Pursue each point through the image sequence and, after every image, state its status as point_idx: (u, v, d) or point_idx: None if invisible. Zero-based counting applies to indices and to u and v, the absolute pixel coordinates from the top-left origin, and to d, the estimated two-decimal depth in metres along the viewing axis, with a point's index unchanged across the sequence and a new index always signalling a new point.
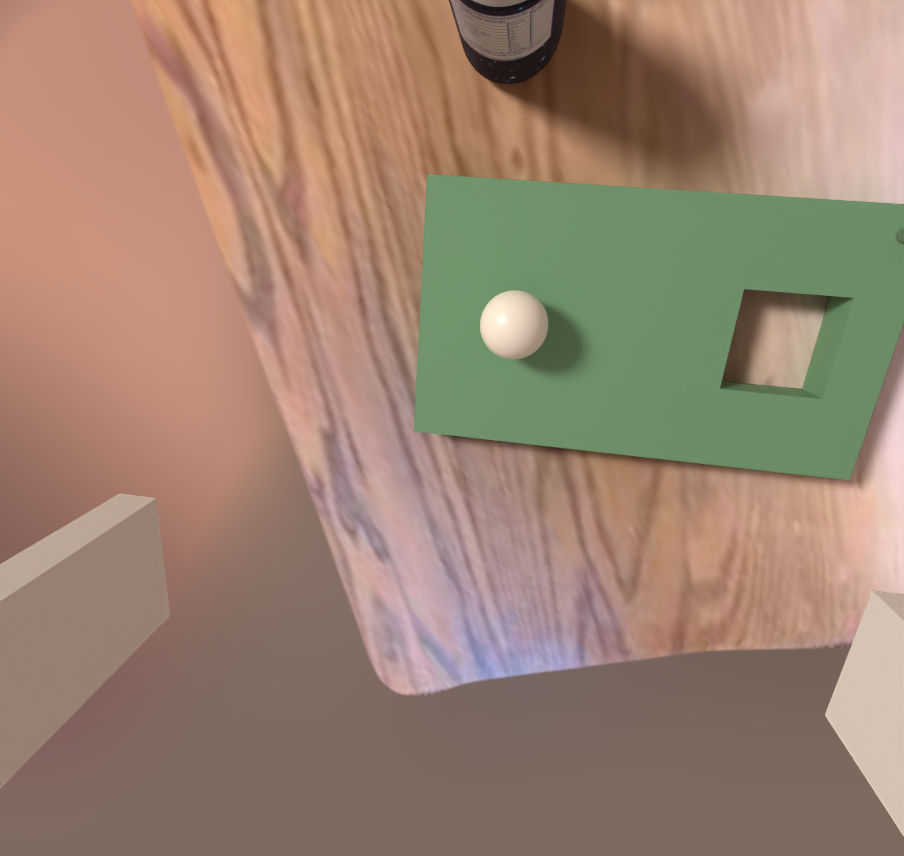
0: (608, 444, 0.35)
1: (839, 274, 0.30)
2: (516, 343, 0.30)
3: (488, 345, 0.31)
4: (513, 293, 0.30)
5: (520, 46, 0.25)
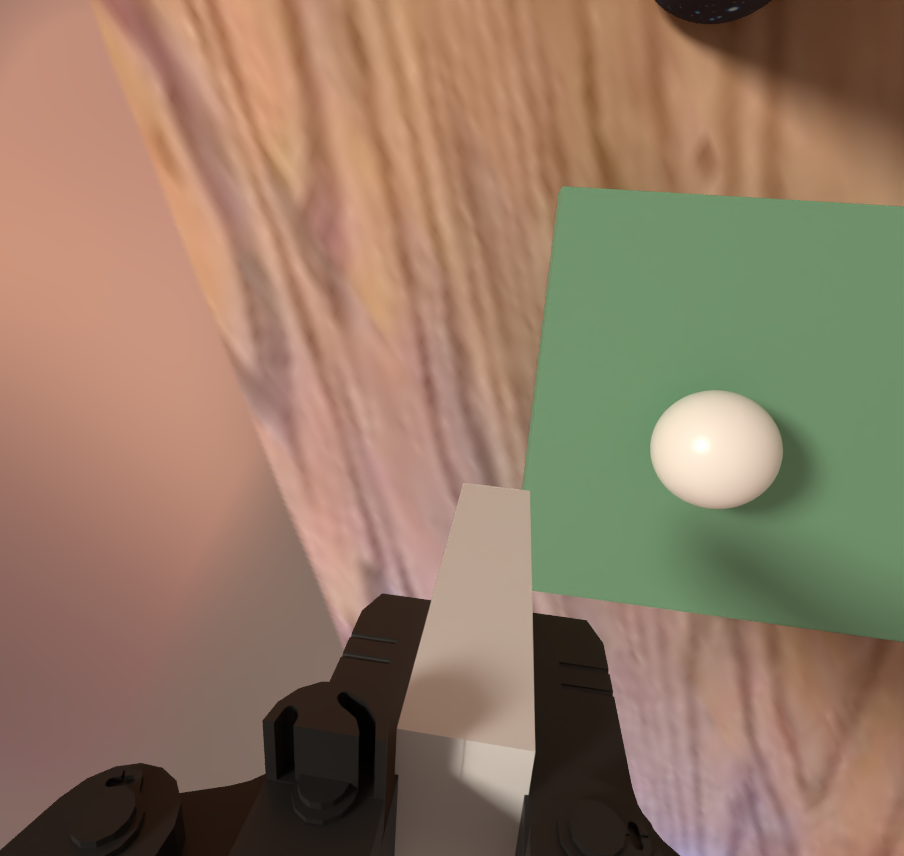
0: (833, 619, 0.22)
1: None
2: (735, 494, 0.16)
3: (672, 487, 0.18)
4: (728, 401, 0.17)
5: None
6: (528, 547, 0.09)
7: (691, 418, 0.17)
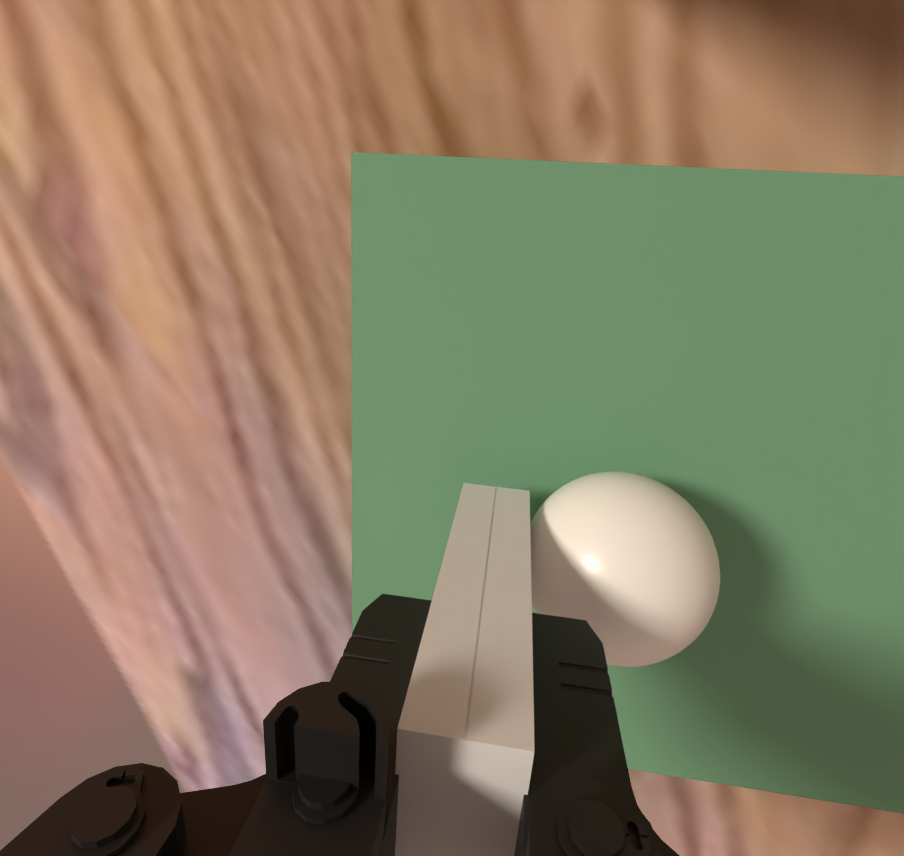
0: (798, 780, 0.15)
1: None
2: (659, 655, 0.10)
3: None
4: (635, 502, 0.10)
5: None
6: (528, 547, 0.09)
7: (581, 535, 0.10)
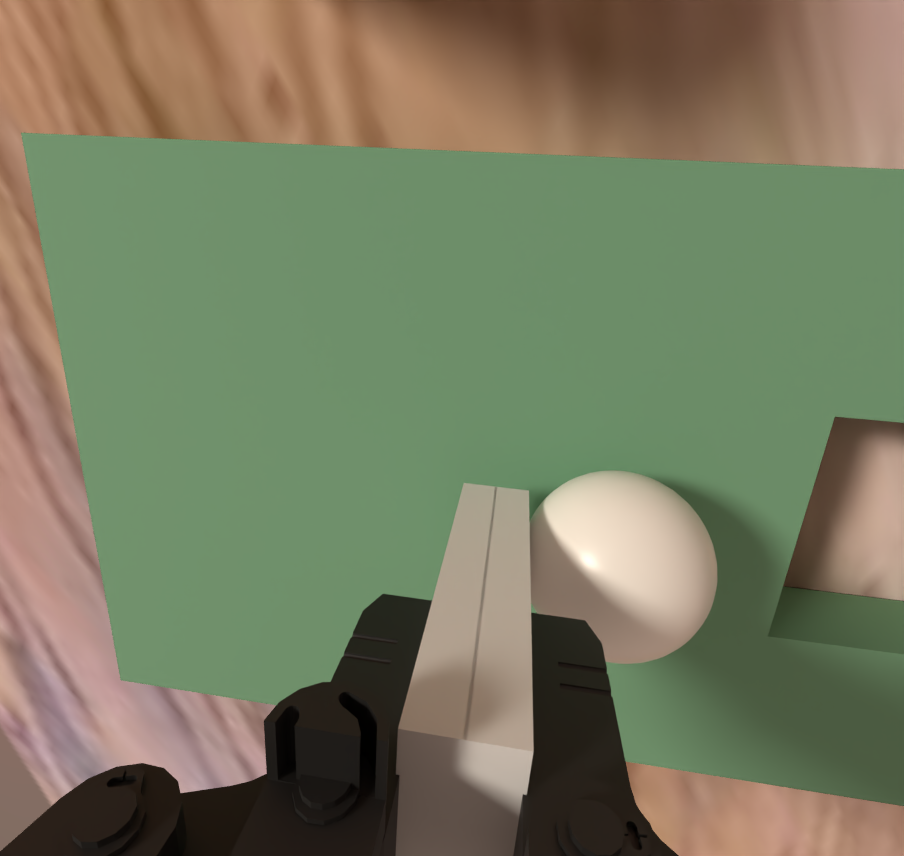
0: None
1: None
2: None
3: None
4: (615, 470, 0.12)
5: None
6: (527, 547, 0.09)
7: None
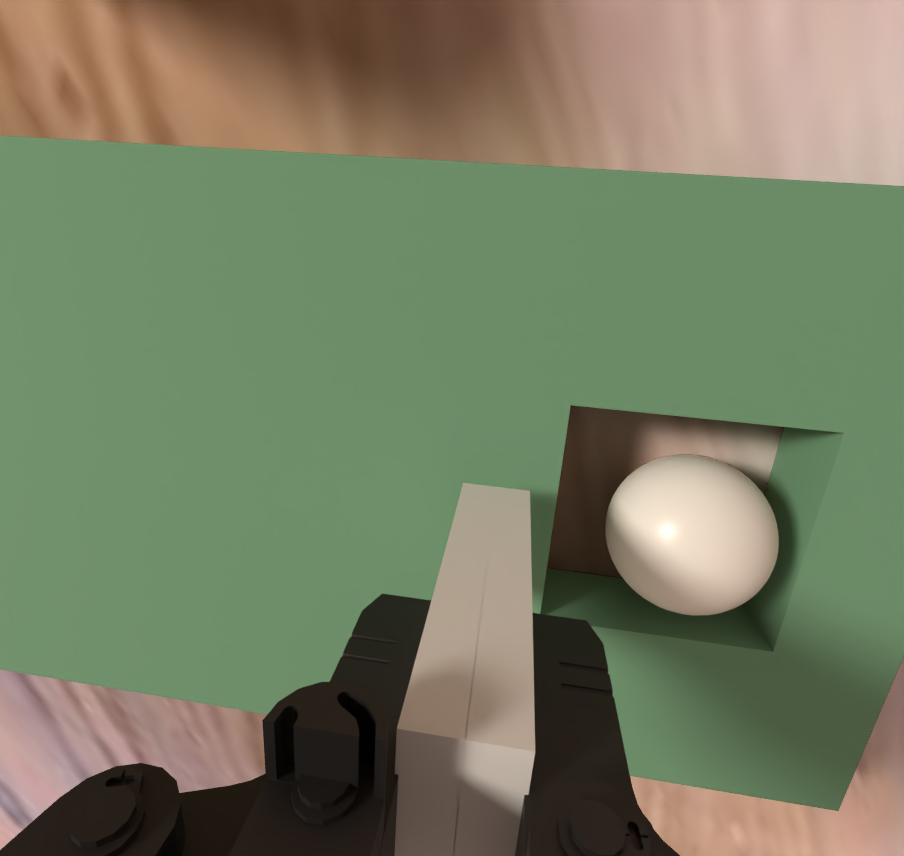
0: None
1: (805, 375, 0.12)
2: None
3: (735, 606, 0.13)
4: (736, 471, 0.13)
5: None
6: (528, 547, 0.09)
7: (762, 516, 0.12)
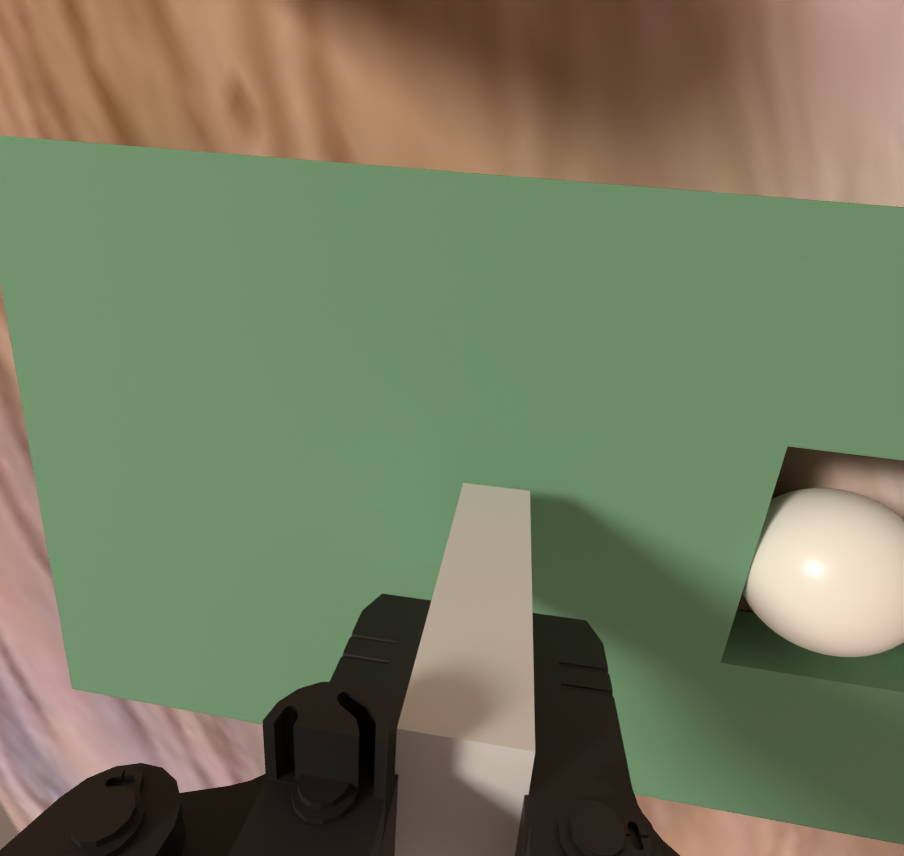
0: None
1: None
2: None
3: (849, 654, 0.12)
4: (886, 515, 0.12)
5: None
6: (528, 547, 0.09)
7: (888, 561, 0.11)
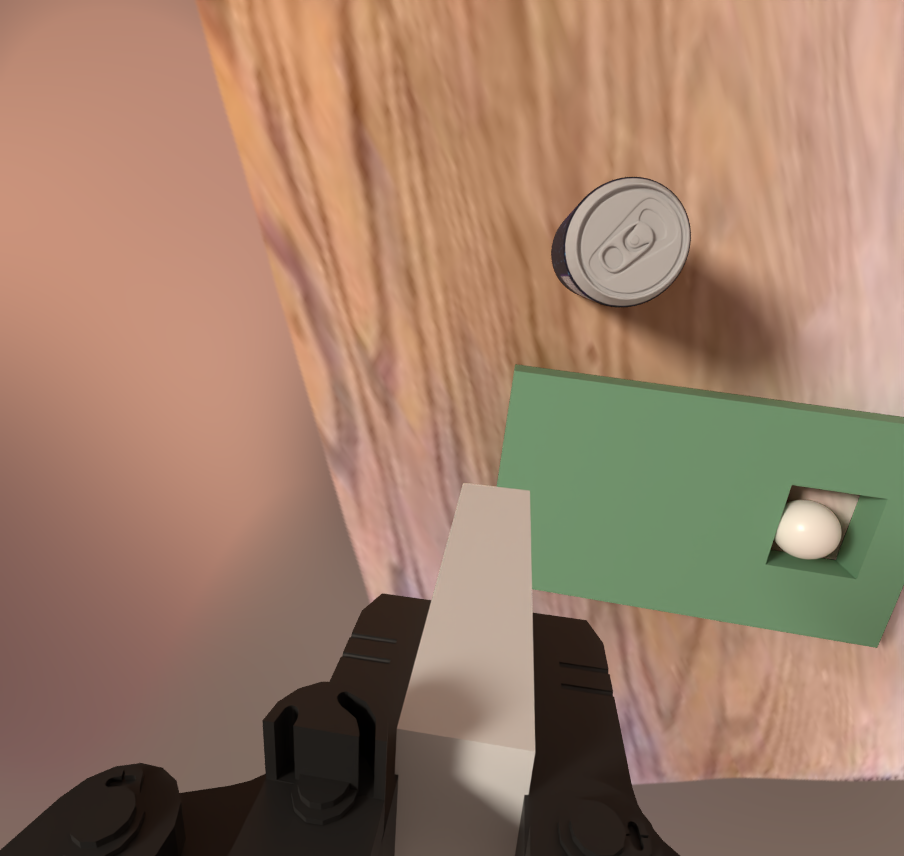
0: (661, 603, 0.38)
1: (876, 479, 0.34)
2: None
3: (813, 557, 0.35)
4: (825, 509, 0.35)
5: None
6: (528, 547, 0.09)
7: (825, 523, 0.34)
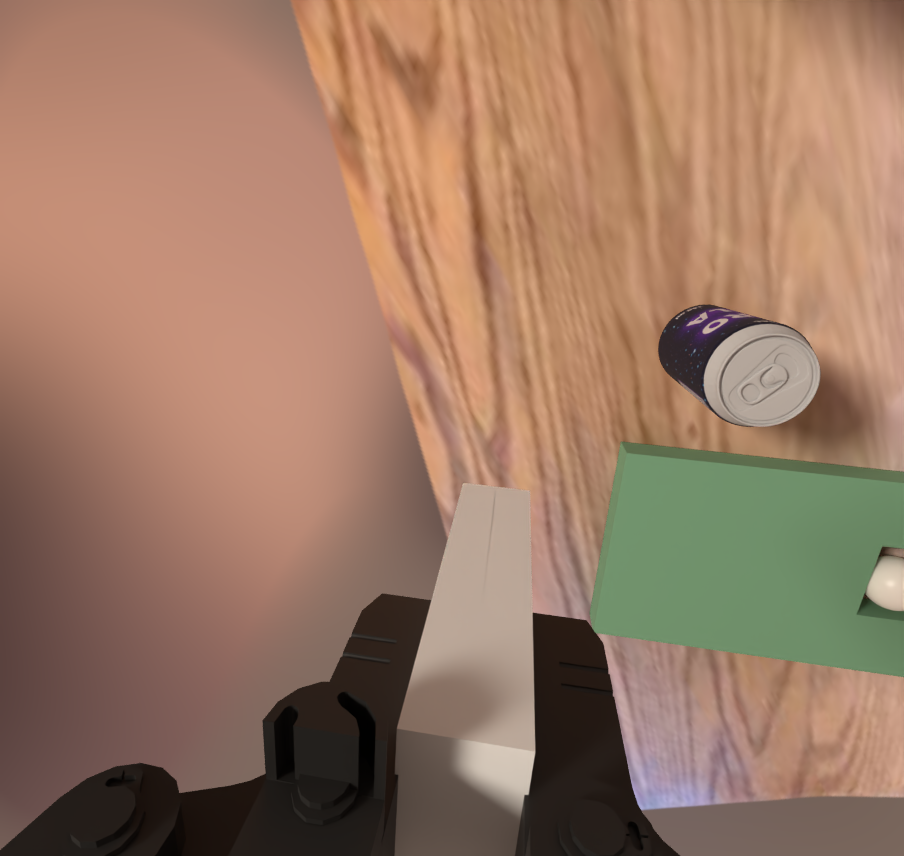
0: (758, 649, 0.42)
1: None
2: None
3: (903, 610, 0.39)
4: None
5: None
6: (528, 547, 0.09)
7: None
